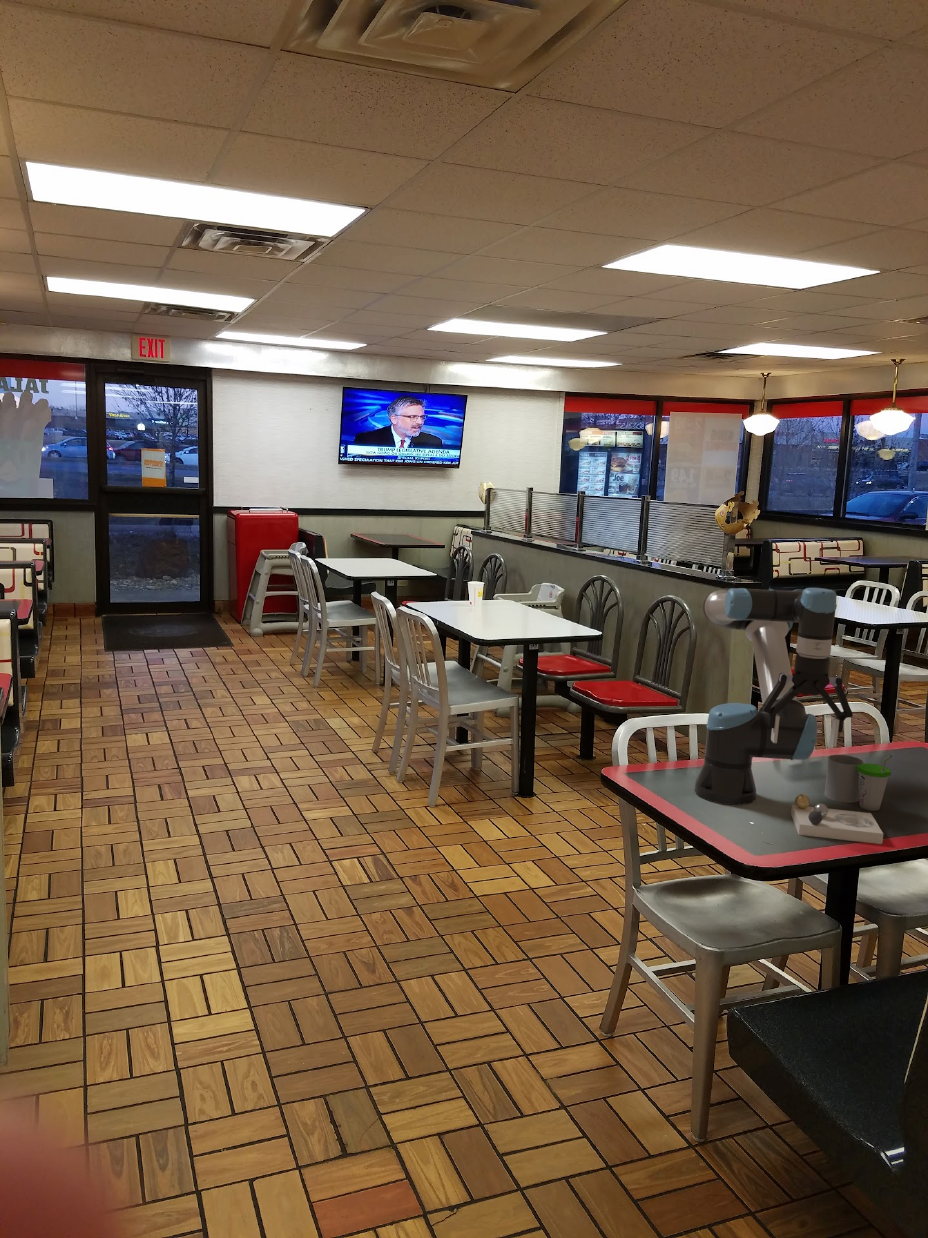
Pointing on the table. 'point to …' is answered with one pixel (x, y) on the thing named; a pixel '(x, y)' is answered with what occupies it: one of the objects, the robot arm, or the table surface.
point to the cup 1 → (842, 778)
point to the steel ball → (821, 809)
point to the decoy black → (815, 817)
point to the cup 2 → (872, 784)
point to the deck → (838, 825)
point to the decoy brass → (802, 801)
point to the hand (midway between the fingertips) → (803, 743)
